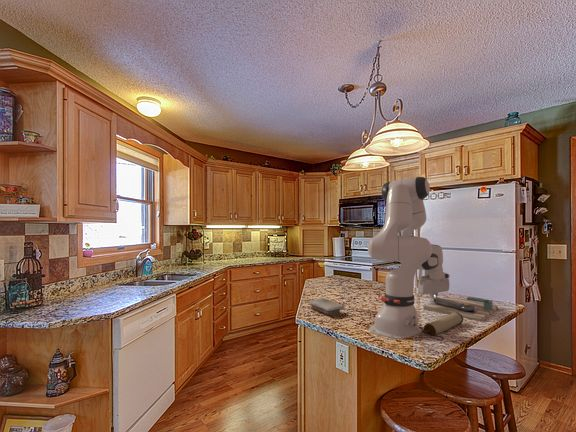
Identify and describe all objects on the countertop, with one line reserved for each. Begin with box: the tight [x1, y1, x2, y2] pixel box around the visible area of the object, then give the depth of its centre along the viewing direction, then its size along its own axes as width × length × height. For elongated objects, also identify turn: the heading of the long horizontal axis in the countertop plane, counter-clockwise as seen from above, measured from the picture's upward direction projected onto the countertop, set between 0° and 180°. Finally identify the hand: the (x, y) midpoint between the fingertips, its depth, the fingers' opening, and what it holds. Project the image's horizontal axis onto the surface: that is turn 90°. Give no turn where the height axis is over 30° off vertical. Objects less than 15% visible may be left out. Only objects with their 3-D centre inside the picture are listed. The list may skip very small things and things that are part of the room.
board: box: [423, 296, 499, 322], centre depth 157 cm, size 29×26×2 cm
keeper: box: [466, 296, 493, 311], centre depth 153 cm, size 3×10×4 cm, turn 44°
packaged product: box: [307, 297, 345, 316], centre depth 152 cm, size 18×5×10 cm
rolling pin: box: [422, 313, 464, 337], centre depth 128 cm, size 32×6×5 cm, turn 127°
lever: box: [431, 296, 474, 312], centre depth 155 cm, size 21×6×3 cm, turn 28°
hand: (433, 301), depth 161 cm, fingers closed
